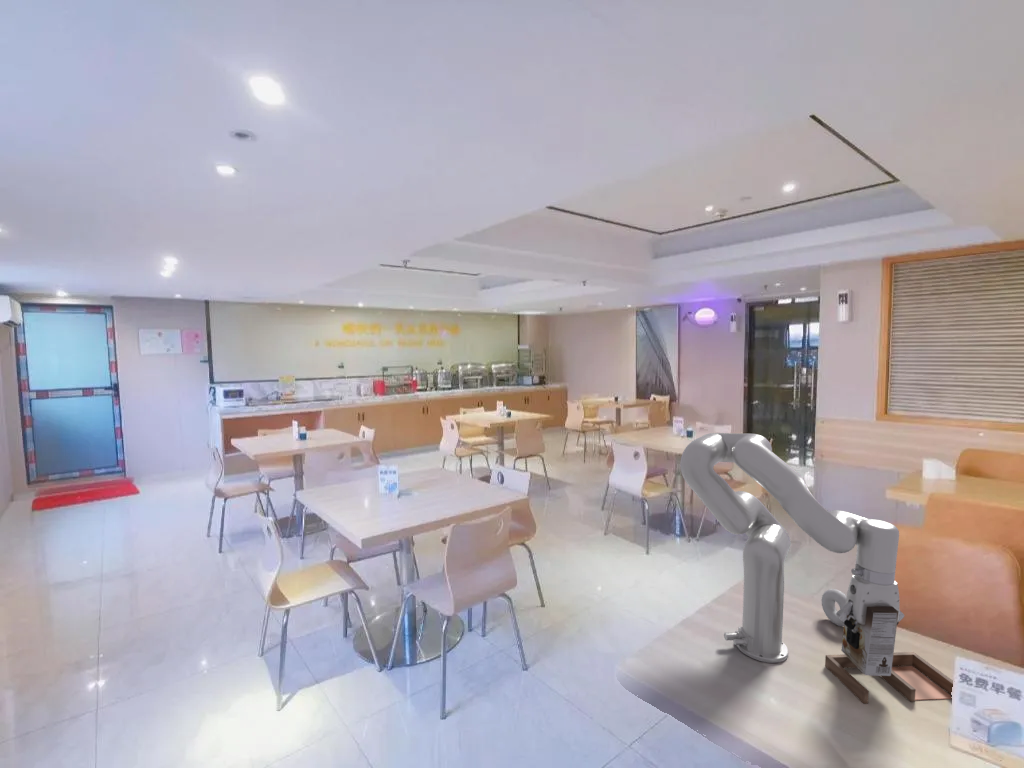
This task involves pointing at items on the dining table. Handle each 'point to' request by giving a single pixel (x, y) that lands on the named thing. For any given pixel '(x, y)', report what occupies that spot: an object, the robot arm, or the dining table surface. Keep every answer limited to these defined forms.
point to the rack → (897, 677)
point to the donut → (833, 604)
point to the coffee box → (874, 641)
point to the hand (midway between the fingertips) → (867, 644)
